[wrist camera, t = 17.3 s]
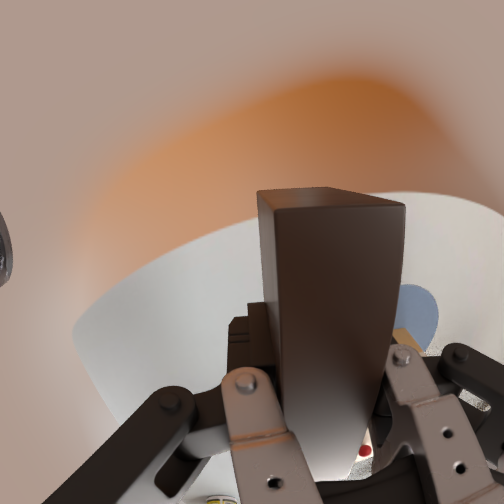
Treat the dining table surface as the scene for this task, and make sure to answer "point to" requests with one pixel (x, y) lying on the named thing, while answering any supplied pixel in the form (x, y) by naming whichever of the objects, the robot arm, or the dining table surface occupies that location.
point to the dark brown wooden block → (330, 312)
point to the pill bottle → (221, 500)
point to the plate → (417, 314)
